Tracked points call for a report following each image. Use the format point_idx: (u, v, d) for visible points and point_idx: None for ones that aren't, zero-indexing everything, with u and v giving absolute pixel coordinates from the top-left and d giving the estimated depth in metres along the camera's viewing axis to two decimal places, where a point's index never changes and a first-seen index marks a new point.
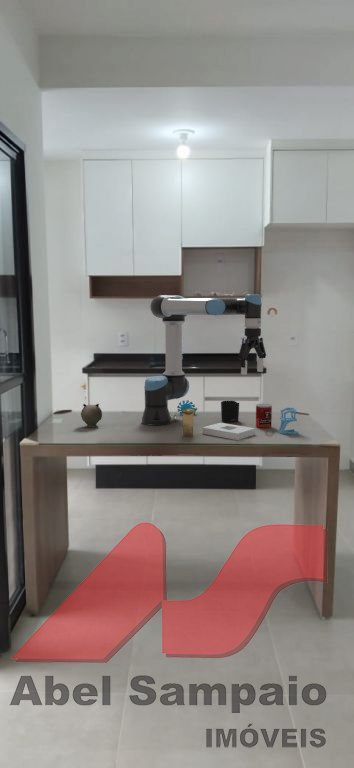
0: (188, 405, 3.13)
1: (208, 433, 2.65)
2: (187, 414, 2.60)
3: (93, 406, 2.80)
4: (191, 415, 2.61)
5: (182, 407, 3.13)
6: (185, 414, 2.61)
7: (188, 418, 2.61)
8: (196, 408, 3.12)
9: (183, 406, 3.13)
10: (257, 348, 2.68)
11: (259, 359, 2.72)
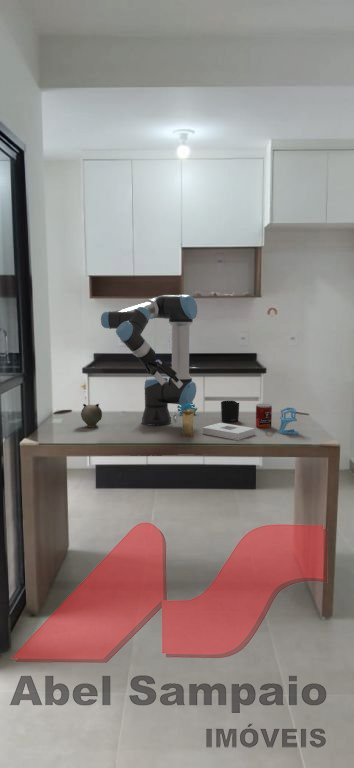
0: (188, 405, 3.14)
1: (208, 433, 2.65)
2: (187, 414, 2.60)
3: (93, 406, 2.80)
4: (191, 415, 2.61)
5: (182, 407, 3.13)
6: (185, 414, 2.61)
7: (188, 418, 2.61)
8: (196, 408, 3.12)
9: (183, 406, 3.13)
10: None
11: None
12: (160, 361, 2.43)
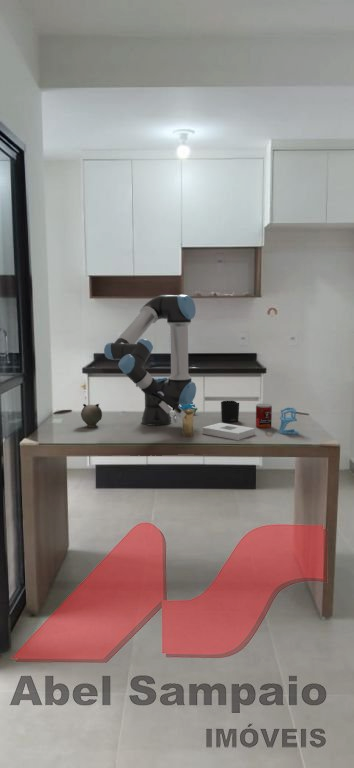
0: (188, 405, 3.14)
1: (208, 433, 2.65)
2: (187, 414, 2.60)
3: (93, 406, 2.80)
4: (191, 415, 2.61)
5: (182, 407, 3.13)
6: None
7: (188, 418, 2.61)
8: (196, 408, 3.12)
9: (183, 406, 3.14)
10: None
11: None
12: (162, 393, 2.46)
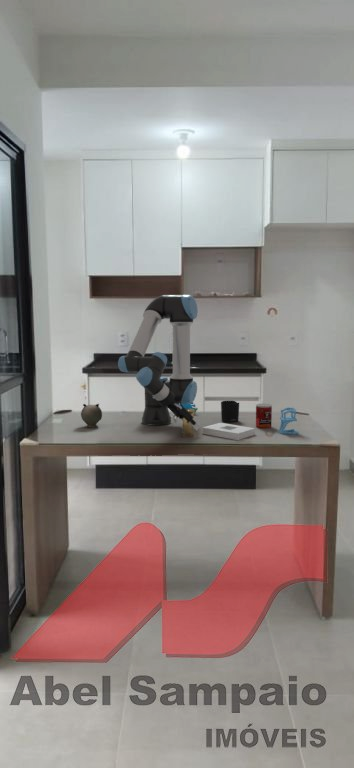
0: (189, 405, 3.14)
1: (208, 433, 2.65)
2: None
3: (93, 406, 2.80)
4: None
5: None
6: None
7: None
8: (196, 408, 3.13)
9: (183, 406, 3.14)
10: None
11: None
12: (181, 407, 2.53)
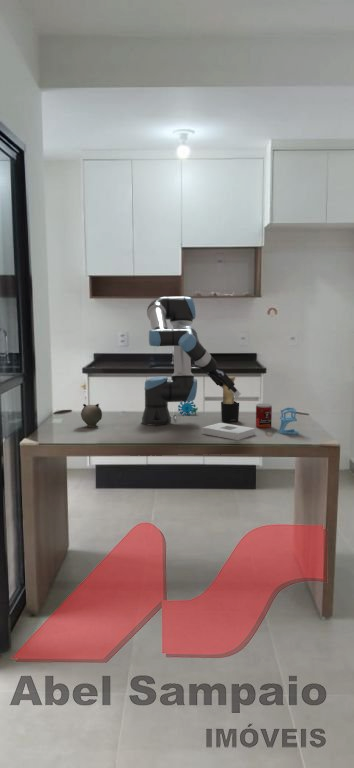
0: (189, 405, 3.14)
1: (208, 433, 2.65)
2: None
3: (93, 406, 2.80)
4: None
5: (183, 407, 3.14)
6: None
7: None
8: (196, 408, 3.13)
9: (184, 406, 3.14)
10: None
11: None
12: (223, 373, 2.53)
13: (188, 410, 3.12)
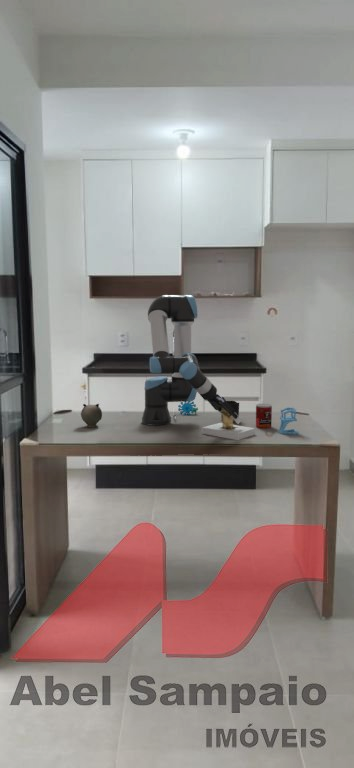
0: (189, 405, 3.15)
1: (208, 433, 2.65)
2: (227, 413, 2.63)
3: (93, 406, 2.80)
4: None
5: (183, 406, 3.14)
6: (225, 413, 2.63)
7: (228, 417, 2.63)
8: (197, 408, 3.13)
9: (184, 405, 3.15)
10: None
11: None
12: (223, 400, 2.55)
13: (188, 410, 3.13)
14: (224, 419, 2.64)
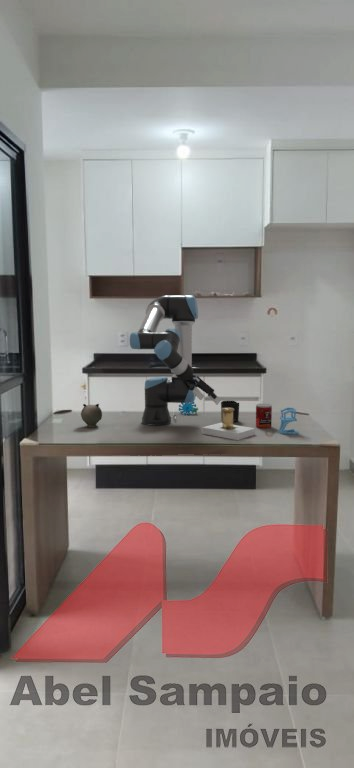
0: (189, 405, 3.15)
1: (208, 433, 2.65)
2: (227, 413, 2.63)
3: (93, 406, 2.80)
4: (231, 414, 2.64)
5: (183, 406, 3.15)
6: (225, 413, 2.63)
7: (228, 417, 2.63)
8: (197, 408, 3.13)
9: (184, 405, 3.15)
10: None
11: None
12: (198, 379, 2.46)
13: (188, 410, 3.13)
14: (224, 419, 2.64)
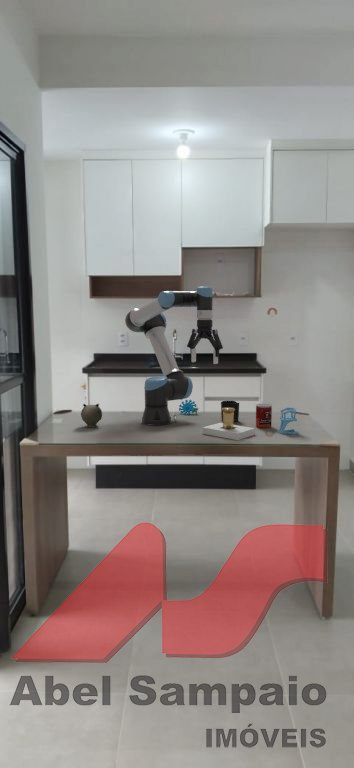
0: (190, 404, 3.15)
1: (208, 433, 2.65)
2: (228, 413, 2.63)
3: (93, 406, 2.80)
4: (232, 414, 2.64)
5: (183, 406, 3.15)
6: (226, 413, 2.63)
7: (229, 417, 2.63)
8: (197, 408, 3.13)
9: (185, 405, 3.15)
10: None
11: None
12: (216, 331, 2.72)
13: (188, 410, 3.13)
14: (225, 419, 2.64)
